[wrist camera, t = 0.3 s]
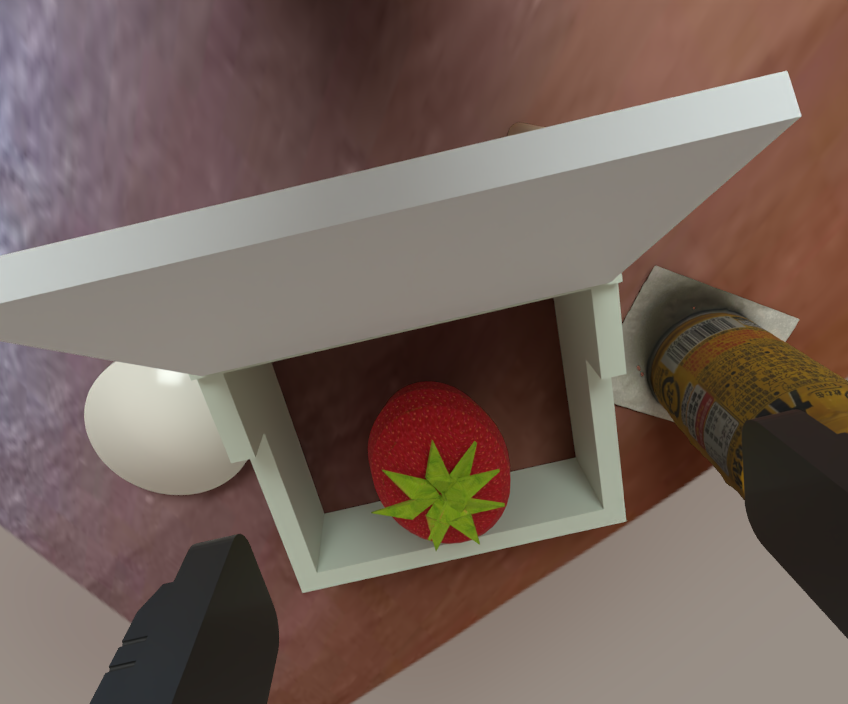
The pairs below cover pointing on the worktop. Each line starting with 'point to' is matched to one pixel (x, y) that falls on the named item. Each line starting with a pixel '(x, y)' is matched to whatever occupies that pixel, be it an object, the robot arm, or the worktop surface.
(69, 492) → the worktop surface
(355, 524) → the cold frame
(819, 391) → the condiment
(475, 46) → the worktop surface
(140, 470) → the cream white rounded part
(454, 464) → the strawberry
